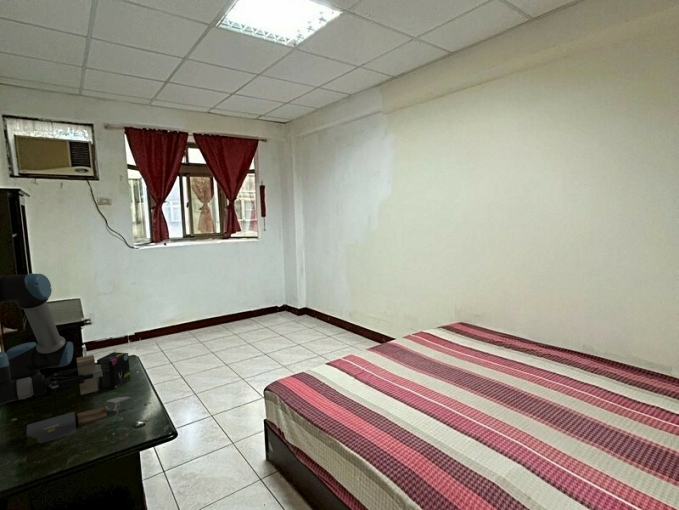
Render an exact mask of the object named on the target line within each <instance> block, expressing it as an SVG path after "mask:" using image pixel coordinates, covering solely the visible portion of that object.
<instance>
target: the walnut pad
mask: <svg viewBox="0 0 679 510" xmlns="http://www.w3.org/2000/svg"><path fill="white" fill-rule="evenodd" d="M106 409H107V408H106V407H105V405H104V406H99V407H96V408H92V409H89V410H85V411H83V412H78V413H77V421H78V426H79V427H80V426H83V425H87V424H90V423H94V422H98V421H99V420H103V419H107V418H108V414H107V410H106Z"/></svg>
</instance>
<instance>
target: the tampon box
mask: <svg viewBox="0 0 679 510" xmlns="http://www.w3.org/2000/svg"><path fill="white" fill-rule="evenodd" d="M96 365H101V370H102V373H103V376H101V377H98V383H99V387H100V388H101V387H103V388H104V389H112V388H114V389H113V390H116V389H117V388H119V387H120V385H121V384H122V383H124V382H126V381H127V380H129V379H130V380H131V369H130V358H129V352H114V351H113V352H111V353H108V354H107V355H104V356H102V357H99V358H98V359H97V360H96ZM130 380H129V381H130ZM127 382H128V381H127ZM127 382H126V383H127ZM124 384H125V383H124ZM122 385H123V384H122ZM122 385H121V386H122ZM118 386H119V387H118ZM115 388H116V389H115Z"/></svg>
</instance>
